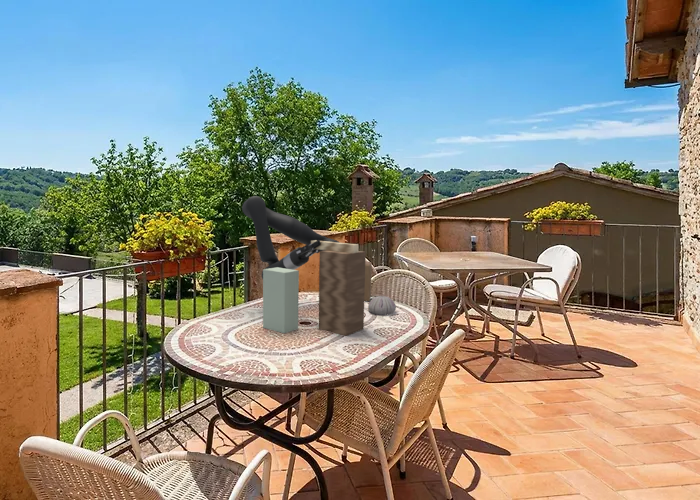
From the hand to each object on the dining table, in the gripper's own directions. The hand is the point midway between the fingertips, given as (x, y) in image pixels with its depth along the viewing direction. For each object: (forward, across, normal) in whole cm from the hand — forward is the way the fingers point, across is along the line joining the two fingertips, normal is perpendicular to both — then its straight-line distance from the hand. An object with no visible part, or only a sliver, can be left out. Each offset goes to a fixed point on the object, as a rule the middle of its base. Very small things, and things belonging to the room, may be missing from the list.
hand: (322, 241), depth 183 cm
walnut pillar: (-8, 0, +36) cm, 37 cm away
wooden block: (-30, +50, +23) cm, 63 cm away
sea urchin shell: (-10, +34, +35) cm, 50 cm away
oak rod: (+4, 0, +6) cm, 7 cm away
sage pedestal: (-25, -15, +26) cm, 39 cm away
